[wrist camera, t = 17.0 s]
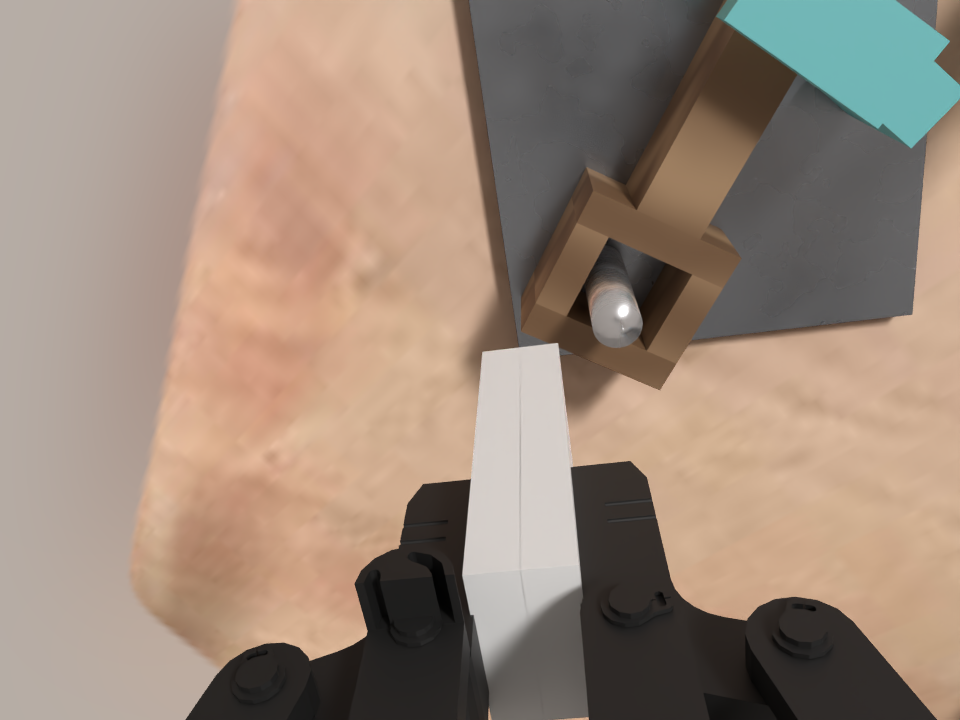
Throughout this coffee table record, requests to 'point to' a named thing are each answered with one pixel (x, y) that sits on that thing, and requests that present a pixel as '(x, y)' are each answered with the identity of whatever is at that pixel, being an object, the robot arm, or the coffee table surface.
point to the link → (663, 212)
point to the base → (748, 204)
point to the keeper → (856, 57)
